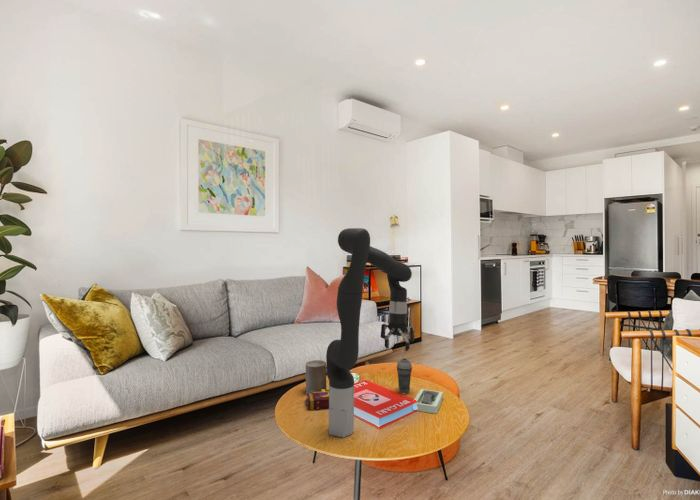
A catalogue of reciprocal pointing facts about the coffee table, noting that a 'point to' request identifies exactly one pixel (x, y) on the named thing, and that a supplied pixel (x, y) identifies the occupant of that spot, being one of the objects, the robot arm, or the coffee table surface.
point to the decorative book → (317, 399)
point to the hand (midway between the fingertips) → (396, 349)
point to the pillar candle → (315, 375)
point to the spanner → (428, 397)
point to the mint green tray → (426, 407)
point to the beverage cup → (404, 374)
